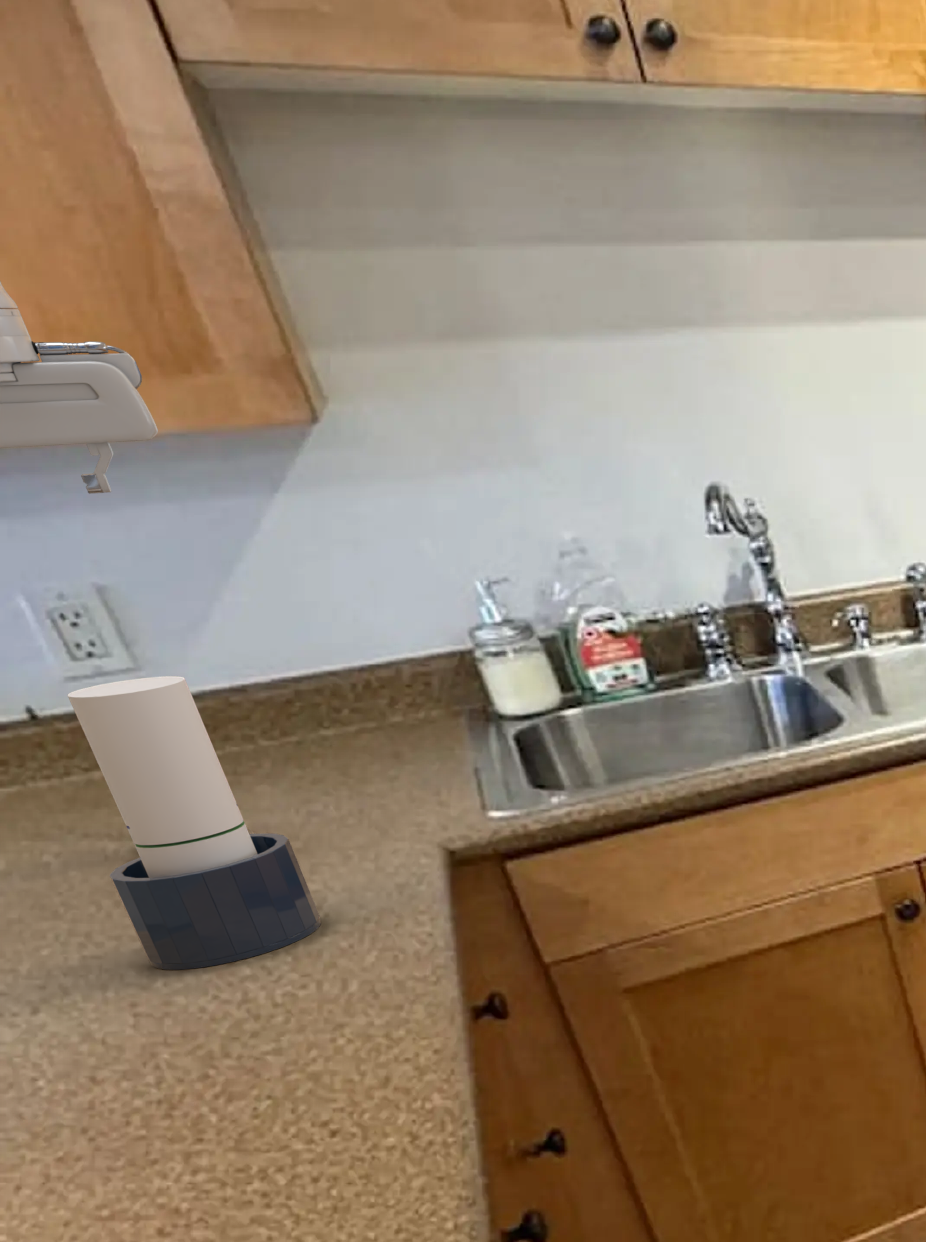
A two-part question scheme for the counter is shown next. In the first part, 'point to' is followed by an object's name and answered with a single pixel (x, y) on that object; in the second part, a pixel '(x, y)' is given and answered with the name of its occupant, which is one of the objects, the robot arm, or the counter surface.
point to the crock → (219, 908)
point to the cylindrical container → (163, 774)
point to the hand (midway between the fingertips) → (25, 498)
